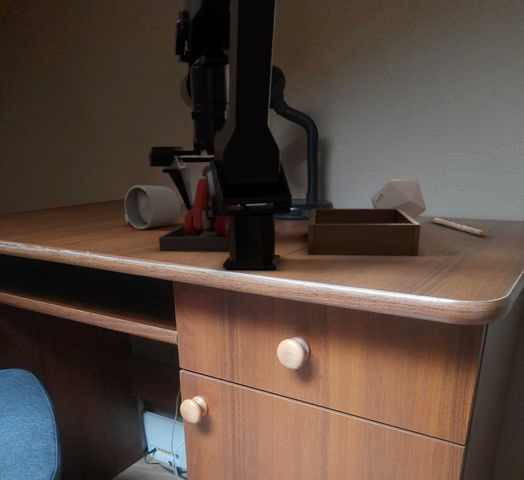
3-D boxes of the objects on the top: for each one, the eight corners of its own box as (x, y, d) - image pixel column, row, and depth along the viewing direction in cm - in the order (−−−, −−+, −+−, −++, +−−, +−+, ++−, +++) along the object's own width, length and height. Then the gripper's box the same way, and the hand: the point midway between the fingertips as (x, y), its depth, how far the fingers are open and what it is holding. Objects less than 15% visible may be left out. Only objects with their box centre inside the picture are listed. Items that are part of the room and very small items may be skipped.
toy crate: (417, 255, 66) (420, 224, 64) (307, 254, 67) (308, 224, 66) (398, 233, 83) (400, 208, 81) (310, 232, 84) (311, 208, 83)
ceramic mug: (185, 225, 95) (182, 183, 92) (154, 230, 88) (149, 185, 85) (146, 222, 100) (142, 182, 97) (114, 227, 94) (109, 185, 91)
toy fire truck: (177, 239, 75) (172, 166, 71) (218, 228, 85) (215, 163, 82) (217, 242, 72) (213, 166, 68) (254, 230, 83) (253, 163, 79)
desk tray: (250, 251, 70) (250, 237, 69) (159, 250, 71) (158, 237, 70) (265, 230, 87) (265, 219, 87) (192, 230, 89) (191, 219, 88)
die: (376, 225, 96) (358, 184, 89) (419, 201, 94) (404, 157, 87) (391, 248, 89) (374, 206, 83) (438, 223, 87) (423, 177, 81)
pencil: (434, 221, 94) (435, 217, 94) (489, 236, 77) (490, 232, 77) (430, 221, 94) (431, 217, 94) (484, 237, 77) (485, 232, 77)
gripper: (279, 107, 78) (280, 209, 84) (165, 110, 80) (173, 209, 86) (273, 101, 68) (274, 217, 74) (142, 104, 70) (153, 217, 76)
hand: (216, 215), depth 78 cm, fingers closed on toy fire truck, 8 cm apart
